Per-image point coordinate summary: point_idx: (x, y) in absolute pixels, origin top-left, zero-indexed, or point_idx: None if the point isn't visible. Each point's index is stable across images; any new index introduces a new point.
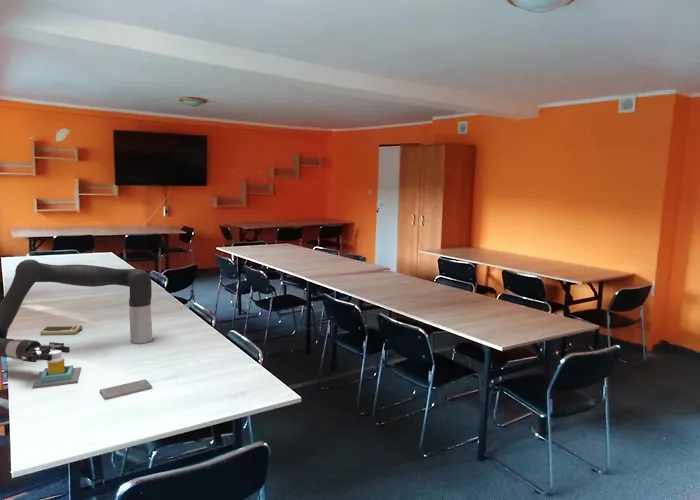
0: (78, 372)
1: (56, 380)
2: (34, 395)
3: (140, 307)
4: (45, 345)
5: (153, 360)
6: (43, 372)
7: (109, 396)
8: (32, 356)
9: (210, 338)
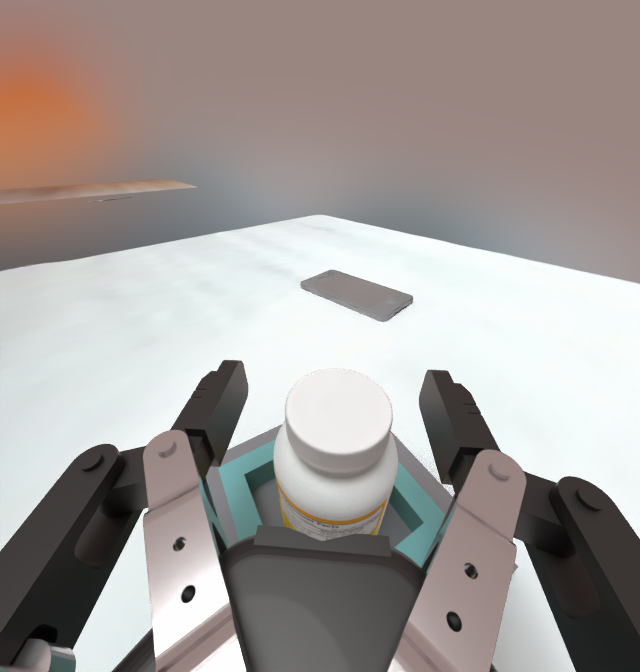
0: (262, 437)
1: None
2: None
3: None
4: (204, 638)
5: (152, 312)
6: None
7: (404, 293)
8: (611, 508)
9: (7, 279)
